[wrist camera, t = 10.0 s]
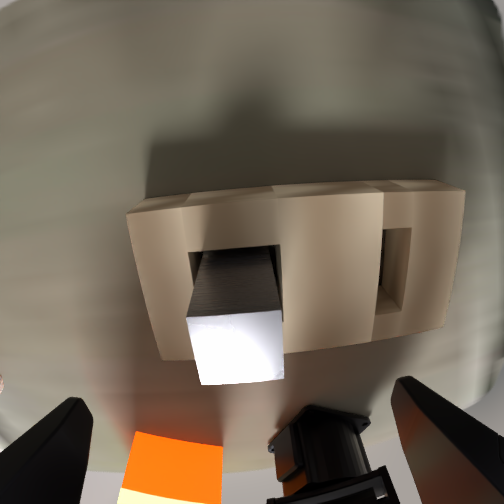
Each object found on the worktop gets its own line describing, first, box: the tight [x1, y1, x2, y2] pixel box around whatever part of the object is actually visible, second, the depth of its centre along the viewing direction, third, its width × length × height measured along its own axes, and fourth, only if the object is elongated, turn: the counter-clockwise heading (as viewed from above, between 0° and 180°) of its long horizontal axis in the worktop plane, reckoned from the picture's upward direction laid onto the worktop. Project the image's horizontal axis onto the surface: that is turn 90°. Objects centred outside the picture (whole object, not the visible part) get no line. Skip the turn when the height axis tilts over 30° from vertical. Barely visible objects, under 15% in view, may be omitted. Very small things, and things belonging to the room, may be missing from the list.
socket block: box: [126, 180, 465, 361], centre depth 16 cm, size 16×8×3 cm, turn 95°
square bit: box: [186, 245, 284, 385], centre depth 14 cm, size 3×3×8 cm
